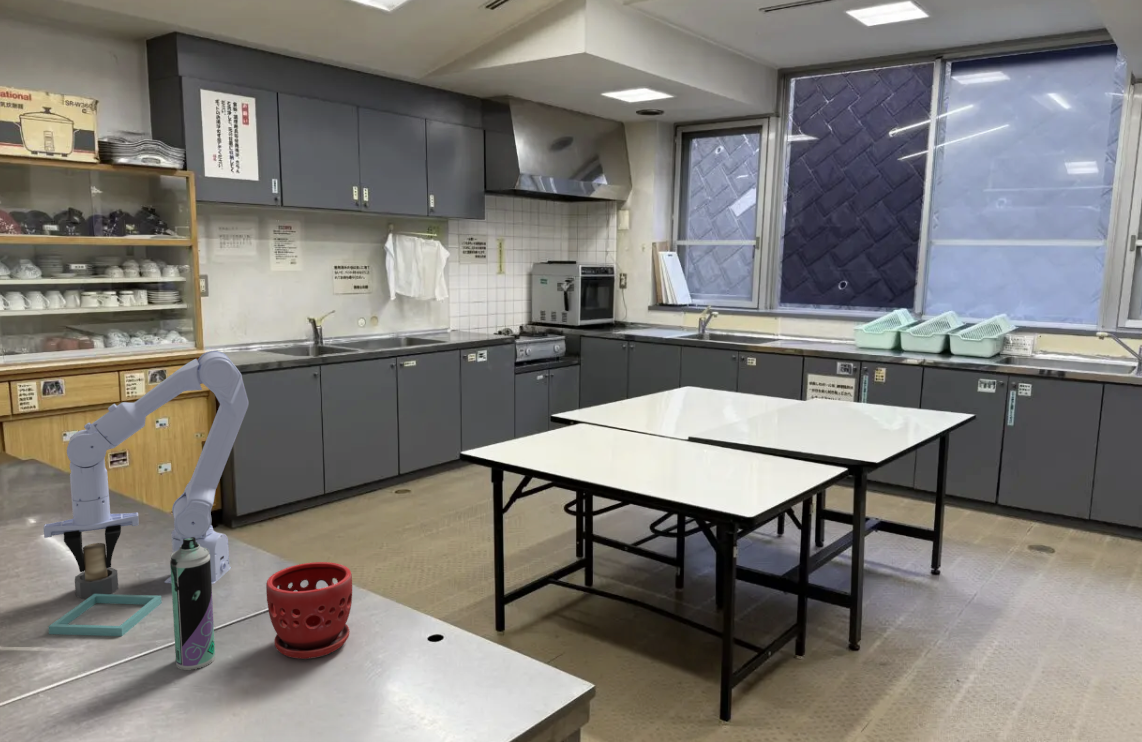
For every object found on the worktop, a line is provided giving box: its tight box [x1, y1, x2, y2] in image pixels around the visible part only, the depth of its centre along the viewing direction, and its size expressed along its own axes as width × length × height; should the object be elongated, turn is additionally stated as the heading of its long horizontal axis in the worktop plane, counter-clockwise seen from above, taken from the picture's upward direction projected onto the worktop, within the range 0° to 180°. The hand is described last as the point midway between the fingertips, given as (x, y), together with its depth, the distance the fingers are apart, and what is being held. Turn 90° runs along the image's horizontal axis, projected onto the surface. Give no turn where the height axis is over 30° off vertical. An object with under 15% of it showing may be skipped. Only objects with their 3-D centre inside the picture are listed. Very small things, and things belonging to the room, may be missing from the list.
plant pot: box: [265, 561, 353, 660], centre depth 124 cm, size 13×13×12 cm
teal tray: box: [47, 593, 163, 637], centre depth 131 cm, size 12×12×2 cm
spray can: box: [169, 537, 216, 671], centre depth 118 cm, size 6×6×20 cm
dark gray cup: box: [74, 567, 119, 600], centre depth 141 cm, size 7×7×4 cm
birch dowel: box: [82, 542, 108, 581], centre depth 140 cm, size 4×4×8 cm
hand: (95, 567), depth 140 cm, fingers closed on birch dowel, 3 cm apart
